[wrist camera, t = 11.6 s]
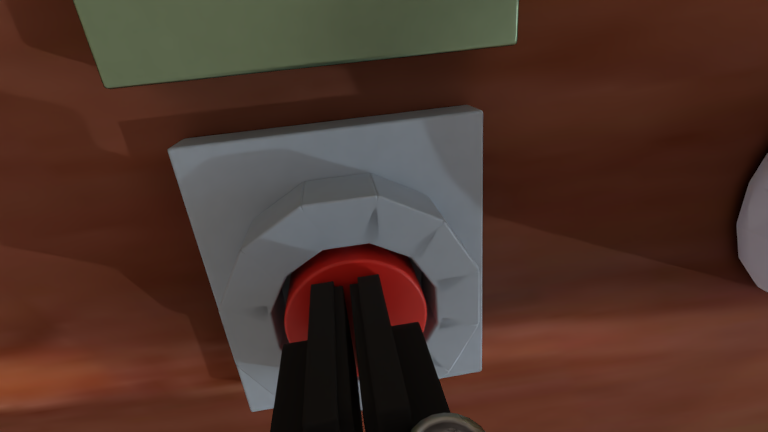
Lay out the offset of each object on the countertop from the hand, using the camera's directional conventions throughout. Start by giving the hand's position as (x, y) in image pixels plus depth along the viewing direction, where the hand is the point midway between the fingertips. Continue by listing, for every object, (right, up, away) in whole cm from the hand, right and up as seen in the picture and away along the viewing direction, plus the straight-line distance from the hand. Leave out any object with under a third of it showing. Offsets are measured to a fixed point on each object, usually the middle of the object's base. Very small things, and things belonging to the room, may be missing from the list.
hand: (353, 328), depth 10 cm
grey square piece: (0, +1, +3) cm, 3 cm away
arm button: (0, +1, +2) cm, 2 cm away
